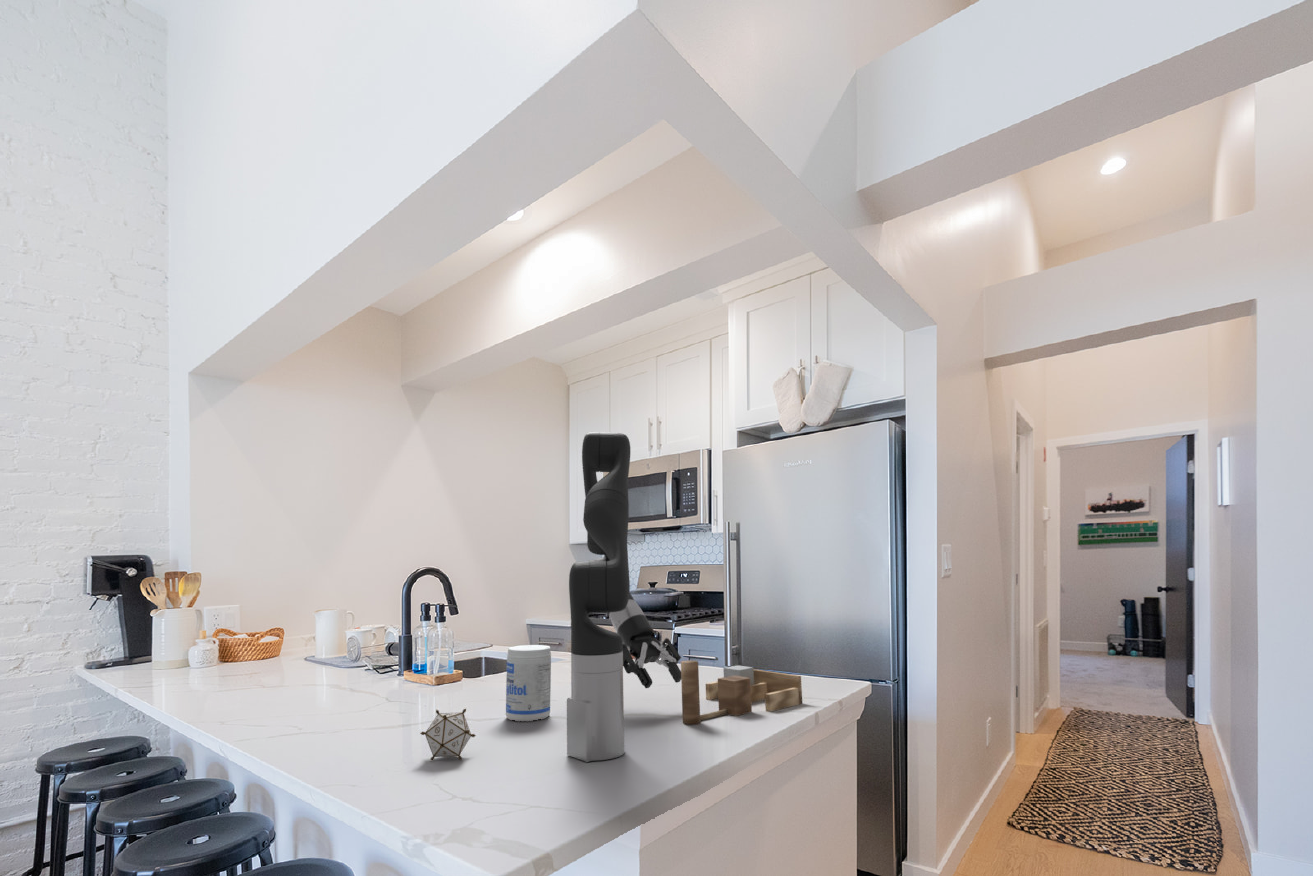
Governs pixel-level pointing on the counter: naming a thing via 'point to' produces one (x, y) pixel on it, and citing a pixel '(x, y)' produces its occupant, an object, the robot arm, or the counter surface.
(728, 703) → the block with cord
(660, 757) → the counter surface
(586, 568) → the robot arm
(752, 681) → the grey block
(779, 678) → the lane shelf
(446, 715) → the game die
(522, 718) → the supplement tub
